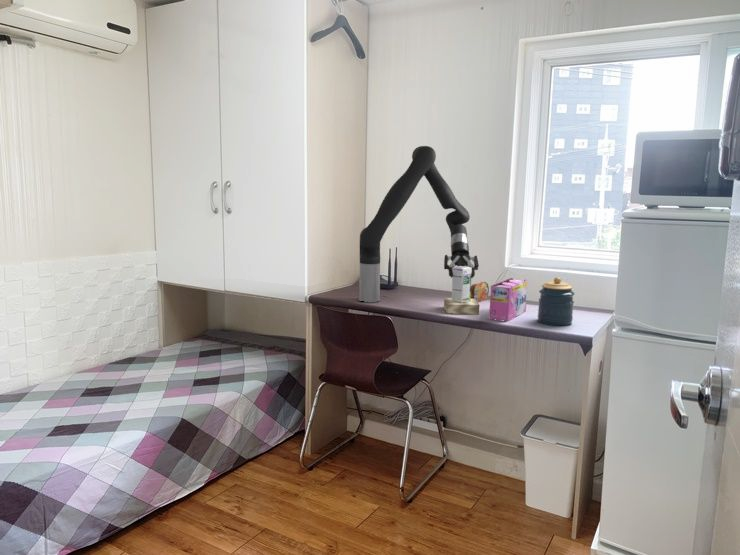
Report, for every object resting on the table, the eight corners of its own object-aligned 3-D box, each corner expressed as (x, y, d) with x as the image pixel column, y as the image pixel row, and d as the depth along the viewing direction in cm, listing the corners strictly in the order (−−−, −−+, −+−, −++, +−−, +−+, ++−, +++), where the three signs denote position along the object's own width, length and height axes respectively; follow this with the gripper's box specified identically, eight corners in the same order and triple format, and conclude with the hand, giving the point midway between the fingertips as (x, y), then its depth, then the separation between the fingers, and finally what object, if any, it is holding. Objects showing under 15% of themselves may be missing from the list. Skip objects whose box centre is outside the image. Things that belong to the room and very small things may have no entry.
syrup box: (461, 303, 228) (463, 268, 226) (450, 300, 233) (452, 266, 231) (470, 301, 232) (472, 267, 230) (459, 299, 237) (461, 265, 234)
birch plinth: (447, 313, 227) (447, 304, 226) (443, 307, 240) (444, 298, 239) (479, 314, 226) (479, 304, 226) (474, 307, 239) (474, 298, 239)
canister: (543, 326, 209) (546, 279, 206) (533, 318, 222) (535, 274, 219) (577, 326, 209) (581, 280, 206) (565, 318, 222) (568, 274, 219)
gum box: (509, 308, 239) (510, 277, 236) (527, 311, 234) (529, 279, 232) (488, 319, 219) (490, 285, 217) (508, 322, 214) (509, 287, 212)
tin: (474, 303, 248) (475, 285, 246) (467, 302, 249) (468, 284, 248) (489, 298, 259) (489, 281, 258) (482, 297, 261) (483, 280, 260)
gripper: (444, 240, 237) (445, 270, 228) (477, 241, 237) (480, 271, 227) (442, 251, 243) (444, 281, 234) (475, 252, 243) (477, 282, 233)
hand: (462, 276), depth 231 cm, fingers open, 8 cm apart
